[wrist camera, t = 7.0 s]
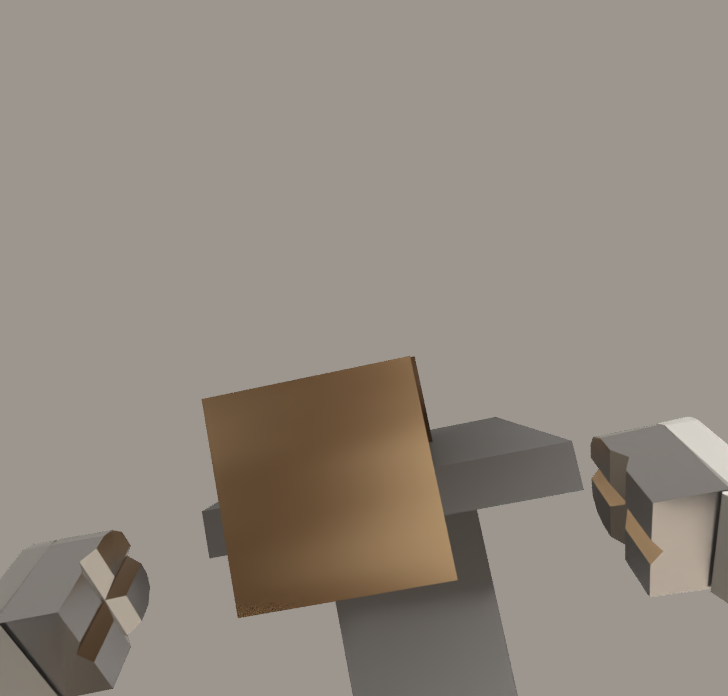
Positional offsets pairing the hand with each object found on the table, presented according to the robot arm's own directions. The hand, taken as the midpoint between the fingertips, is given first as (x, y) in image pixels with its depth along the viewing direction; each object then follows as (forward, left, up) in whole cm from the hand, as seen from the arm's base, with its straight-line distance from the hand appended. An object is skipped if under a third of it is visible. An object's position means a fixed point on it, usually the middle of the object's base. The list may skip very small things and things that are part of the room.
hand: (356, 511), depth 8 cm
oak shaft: (0, -8, -1) cm, 8 cm away
